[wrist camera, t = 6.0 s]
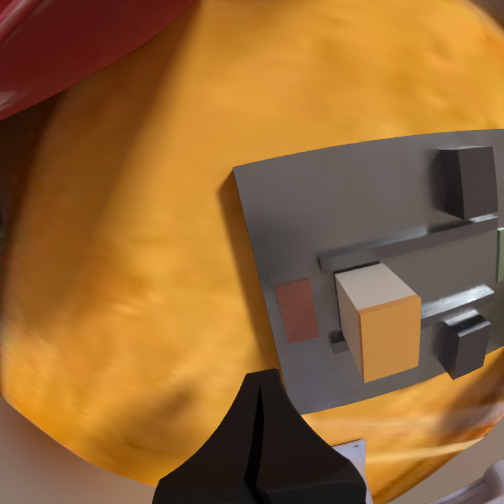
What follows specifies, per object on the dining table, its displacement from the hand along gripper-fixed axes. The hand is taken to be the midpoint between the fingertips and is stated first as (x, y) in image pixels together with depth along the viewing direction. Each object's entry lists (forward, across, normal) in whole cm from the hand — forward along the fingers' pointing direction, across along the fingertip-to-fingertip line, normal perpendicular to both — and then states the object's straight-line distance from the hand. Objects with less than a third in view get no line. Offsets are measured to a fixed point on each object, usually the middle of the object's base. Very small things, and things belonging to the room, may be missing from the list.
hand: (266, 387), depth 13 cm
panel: (+8, -10, 0) cm, 13 cm away
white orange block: (+6, -6, 0) cm, 9 cm away
